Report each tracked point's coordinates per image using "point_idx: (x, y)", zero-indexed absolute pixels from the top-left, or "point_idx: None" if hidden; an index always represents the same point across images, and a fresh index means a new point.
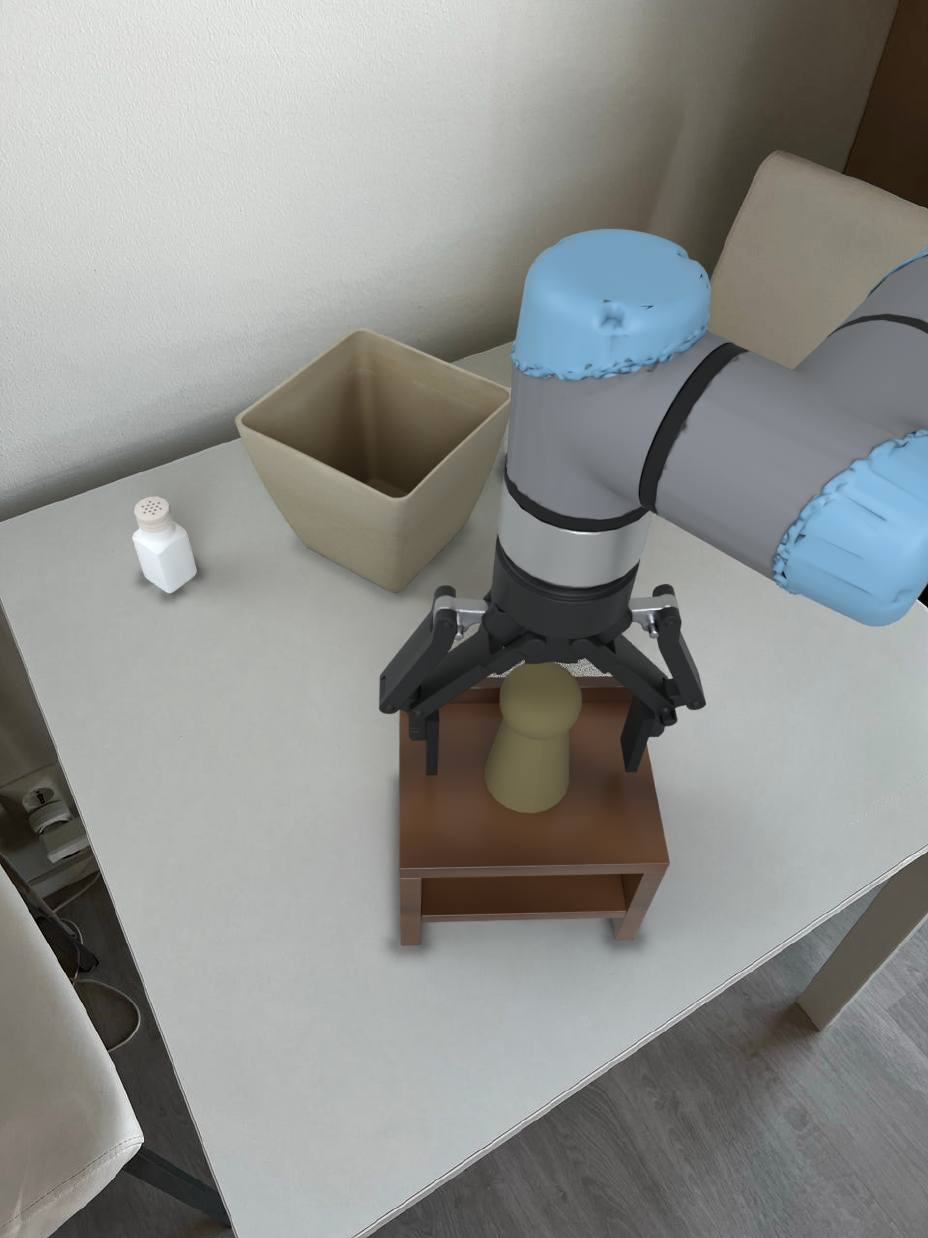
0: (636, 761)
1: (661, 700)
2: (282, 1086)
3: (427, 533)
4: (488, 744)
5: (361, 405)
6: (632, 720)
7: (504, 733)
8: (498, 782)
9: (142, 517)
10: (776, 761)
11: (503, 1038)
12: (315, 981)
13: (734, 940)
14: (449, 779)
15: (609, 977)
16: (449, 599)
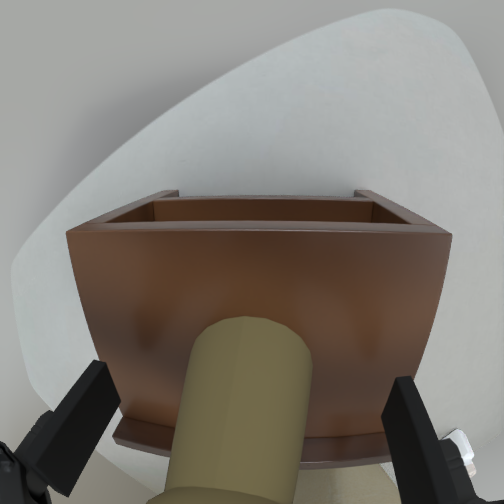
0: (84, 378)
1: (2, 491)
2: (449, 96)
3: (309, 495)
4: None
5: None
6: (80, 443)
7: (295, 475)
8: (300, 368)
9: (474, 471)
10: (72, 324)
11: (283, 105)
12: (435, 168)
13: (92, 193)
14: (361, 363)
15: (185, 157)
16: None
